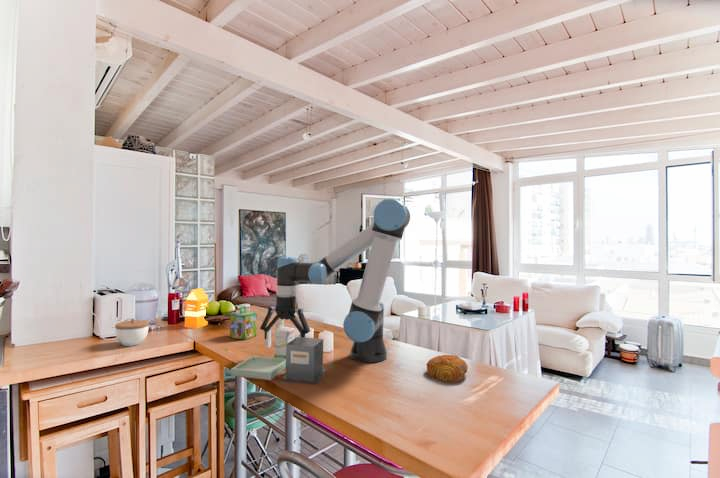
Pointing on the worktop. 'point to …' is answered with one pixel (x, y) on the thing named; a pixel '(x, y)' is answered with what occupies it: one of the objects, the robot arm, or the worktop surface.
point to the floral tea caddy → (243, 324)
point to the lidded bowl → (132, 332)
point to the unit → (304, 360)
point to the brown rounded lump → (447, 368)
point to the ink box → (282, 339)
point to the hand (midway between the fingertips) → (284, 349)
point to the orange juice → (196, 309)
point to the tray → (259, 367)
